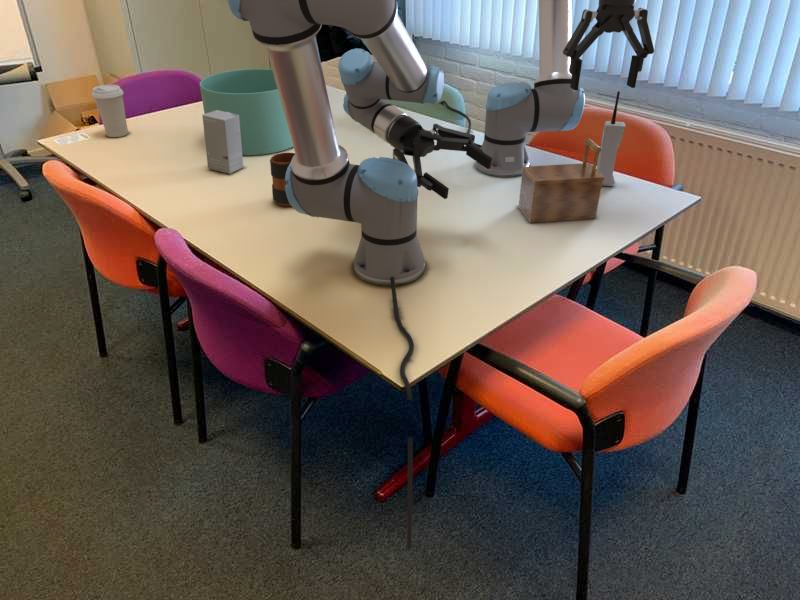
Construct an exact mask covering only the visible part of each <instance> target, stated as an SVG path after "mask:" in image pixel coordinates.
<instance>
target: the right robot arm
mask: <svg viewBox="0 0 800 600" xmlns="http://www.w3.org/2000/svg"><path fill="white" fill-rule="evenodd" d="M636 2H637V0H598V7H597V9H596V10H595V11H594V10H589V9H587V8H586V9H583V11H582V14H581V18H580V21H579V23H578V24H577V25H576V28H575V29H574V31H573V32H572V0H538V32H539V33H538V35H539V36H538V37H539V38H538V47H539V48H538V49H539V51H538V54H539V57H538V58H539V60H538V61H539V64H538V65H539V76H538V78H536V80H535V81H534V83H533V88H532V86H531V85H530V84H529V83H527V82H525V81H520V82H518V81H509V82H504V83H500V84H497V85H494V86H493V87H492V88H490V90H489V91H488V93H487V98H486V104H485V119H484V120H485V122H484V136H483V142H482V144H479V143H475V142H474V144H475V145H476V146H478V147H479V148H481V149H482V150H483V152H484V153H485V154H487V155H488V156H490V157H491V158H492V162H491V168H489V169H487V168H485V167H484V166H482V165H481V164H480V163H478V162H477V161H475V167H476V170H478V171H479V172H481V173H483V174H486V175H489V176H494V177H503V178H505V177H506V178H507V177H518V176H522V171H523V167H530V159H529V155H528V151H527V150H528V149H527V146H526V136H527V133H540V132H541V133H542V132H544V133H545V132H547V133H548V132H557V133H560V132H567V131H573V130H574V129H575V128H576V127H578V125H579V123H580V122H581V120H582V117H583V114H584V110H585V103H586V95H585V90H584V89H583V87H580V79H581V73H582V72H581V71H582V66H583V59H582V58H581V57H582V56H583V55H584V54H585V52H586V51H587V50H588V49H589V48H590V47H591V46H592V45H593V44H594V43H595V41H596V40H597V39H598V38H599V37H600V36H602V35H603V34H604V33H607V34H612V33H613V32H614V33H623V34H624V36H625V37H626V39H627V41H628V43H629V44H630V46H631V48H632V49H633V51H634V52H635V53H634V55H633V54H632V55H631V59H630V65H629V69H628V74H627V81H626V86H628V87H629V88H631V89H635V88H636V83H637V79H638V75H639V73H640V72H642V70H643V66H644V60H645V59H647V57H648V56H649V55H652V54H654V52H655V48H654V44H653V43H654V42H653V39H652V36H651V35H652V34H651V31H650V27H649V23H648V13H649V10H648V9H645V8H643V7H639V8H637V9H635V5H636ZM594 19H595V20H596V22H595V24H594V25H593V26H592V27H591V29H590V31H589V32H588V33H587V34H586V32H587V31H588V29H589V27H590V25H591V22H593V21H594ZM633 19H635V20H636V24H637V28H638V32H639V35H640V40H641V42H640V40H639V38H638V36H637V35H636V33H635V31H634V29H633V27H632V25H631V21H632V20H633ZM585 34H586V35H585ZM584 35H585V37H584ZM443 104H444V105H445V107H446V108H447V109H448V110H449V111H452V112H455V113H456V114H459V115H460V116H462V117H464V118H465V119H466V120H467V122H468V127H467V131H466V133H468V134H471V130H472V121H471V118H470V117H469V116H468V115H467V114H466V113H465V112H462V111H460V110H458V109H456V108H453V107H451V106H450V105H449V104H448V102H447V101H445V100H442V101H440V105H443Z"/></svg>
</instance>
